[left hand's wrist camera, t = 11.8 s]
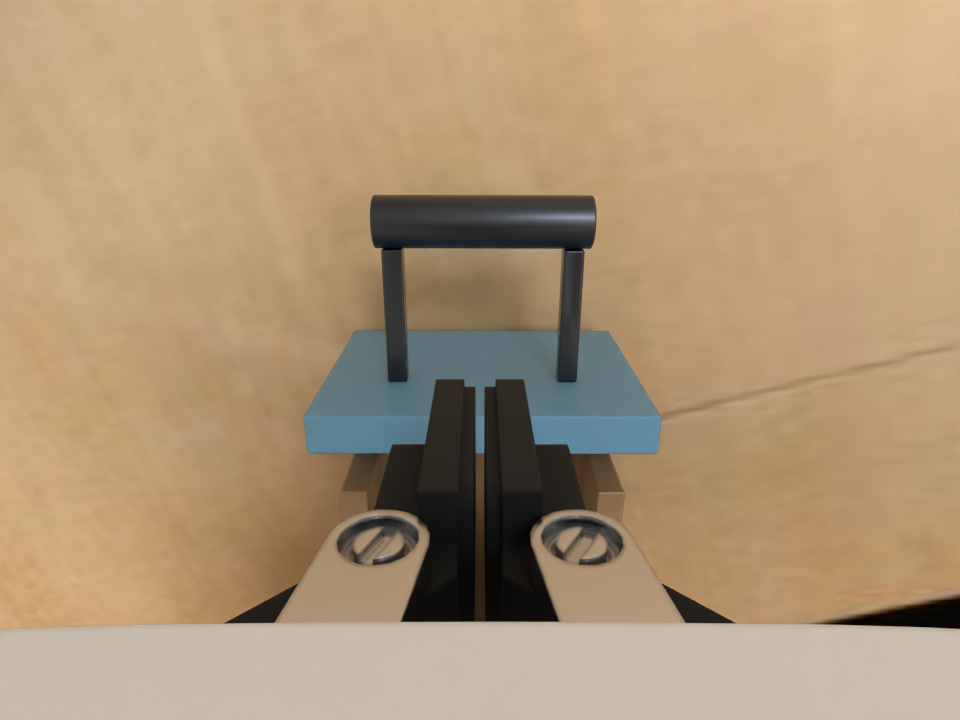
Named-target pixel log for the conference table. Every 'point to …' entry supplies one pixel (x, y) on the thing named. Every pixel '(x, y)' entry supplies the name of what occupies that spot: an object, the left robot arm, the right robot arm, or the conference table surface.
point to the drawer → (483, 358)
